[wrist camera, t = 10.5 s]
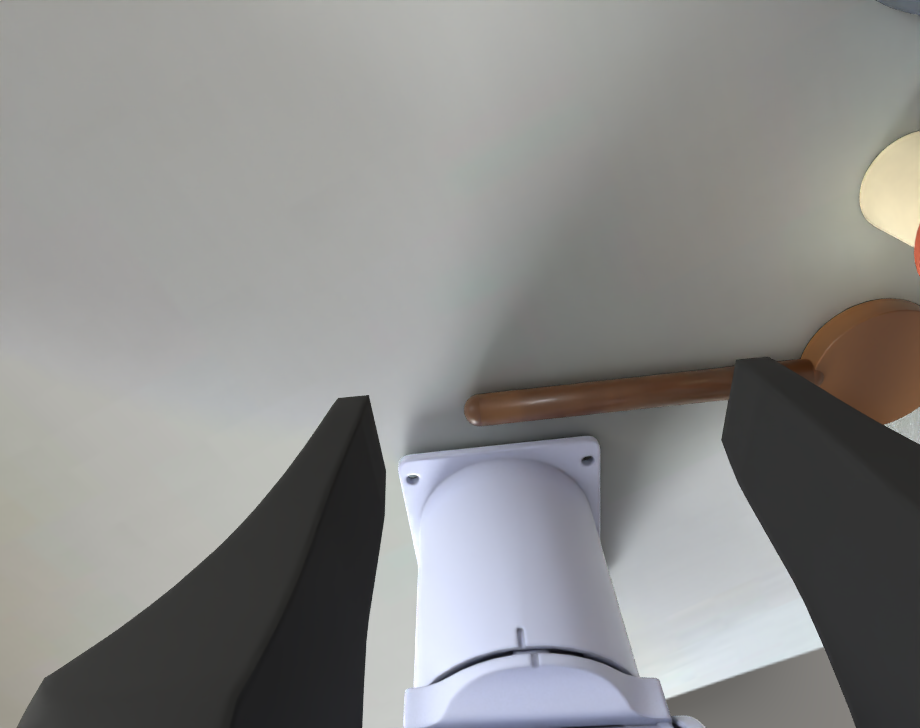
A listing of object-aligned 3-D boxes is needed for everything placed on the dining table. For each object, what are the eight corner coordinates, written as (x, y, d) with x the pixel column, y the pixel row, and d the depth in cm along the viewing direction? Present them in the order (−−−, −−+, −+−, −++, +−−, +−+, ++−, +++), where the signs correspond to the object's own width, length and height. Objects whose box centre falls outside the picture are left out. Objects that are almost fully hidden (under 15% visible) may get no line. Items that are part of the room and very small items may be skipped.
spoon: (952, 290, 22) (978, 304, 21) (916, 406, 24) (937, 424, 23) (455, 345, 23) (456, 362, 22) (470, 454, 25) (471, 473, 24)
